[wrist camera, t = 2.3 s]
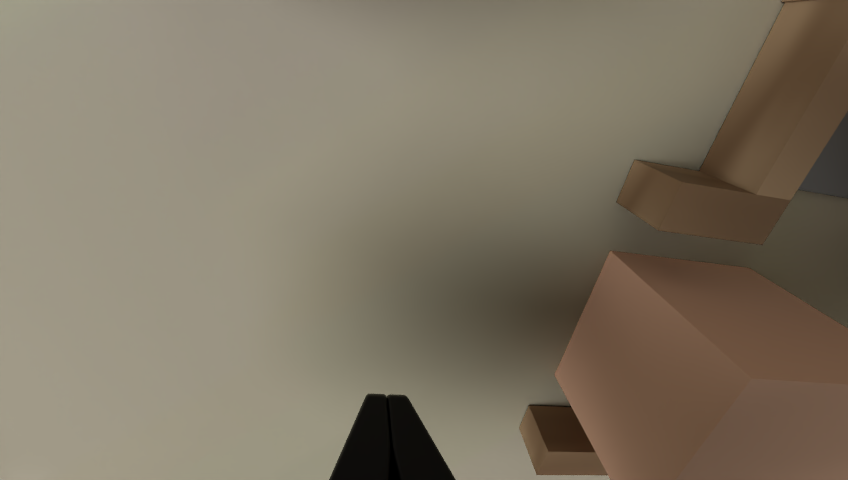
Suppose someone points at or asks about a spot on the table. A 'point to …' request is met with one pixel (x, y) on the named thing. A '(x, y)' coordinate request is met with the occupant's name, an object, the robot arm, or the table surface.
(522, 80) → the table surface
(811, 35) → the trap lane
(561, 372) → the block
